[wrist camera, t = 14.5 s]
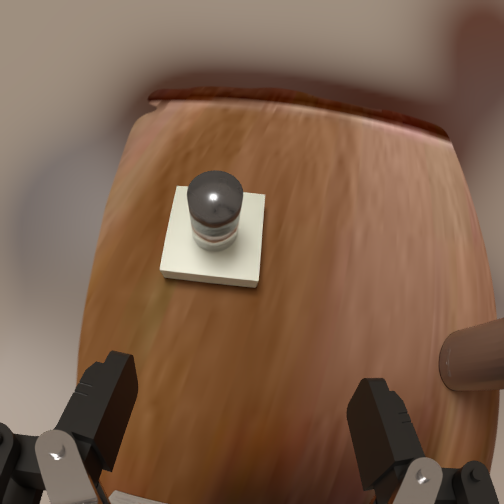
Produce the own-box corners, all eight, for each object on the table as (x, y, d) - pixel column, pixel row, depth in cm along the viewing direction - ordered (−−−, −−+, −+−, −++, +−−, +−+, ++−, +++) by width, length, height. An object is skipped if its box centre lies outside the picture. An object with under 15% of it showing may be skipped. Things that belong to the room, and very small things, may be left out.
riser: (262, 206, 40) (264, 194, 37) (255, 287, 36) (258, 281, 33) (179, 198, 40) (177, 185, 37) (164, 277, 36) (159, 269, 33)
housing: (239, 214, 36) (246, 174, 29) (234, 254, 34) (239, 221, 27) (196, 208, 36) (193, 167, 28) (188, 248, 34) (181, 213, 27)
